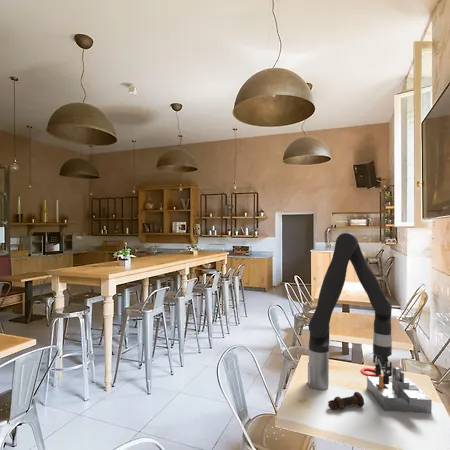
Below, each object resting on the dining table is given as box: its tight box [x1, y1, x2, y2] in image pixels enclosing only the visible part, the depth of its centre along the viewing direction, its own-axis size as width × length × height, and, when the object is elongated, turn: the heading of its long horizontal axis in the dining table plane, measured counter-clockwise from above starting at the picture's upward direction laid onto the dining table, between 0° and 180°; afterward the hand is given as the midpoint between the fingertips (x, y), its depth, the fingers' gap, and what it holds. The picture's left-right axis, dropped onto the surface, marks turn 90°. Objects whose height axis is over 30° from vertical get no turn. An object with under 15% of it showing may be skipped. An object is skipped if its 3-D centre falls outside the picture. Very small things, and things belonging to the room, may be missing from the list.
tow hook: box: [360, 367, 383, 377], centre depth 170 cm, size 8×13×9 cm
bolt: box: [327, 391, 365, 411], centre depth 137 cm, size 6×5×15 cm
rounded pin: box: [378, 374, 384, 389], centre depth 144 cm, size 2×2×10 cm
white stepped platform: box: [366, 365, 433, 414], centre depth 141 cm, size 19×24×14 cm
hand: (381, 379), depth 144 cm, fingers open, 8 cm apart
